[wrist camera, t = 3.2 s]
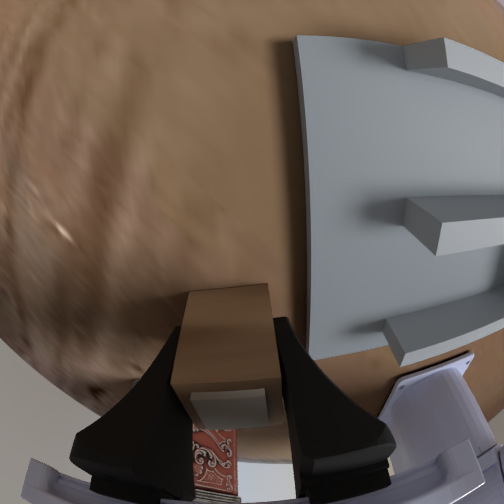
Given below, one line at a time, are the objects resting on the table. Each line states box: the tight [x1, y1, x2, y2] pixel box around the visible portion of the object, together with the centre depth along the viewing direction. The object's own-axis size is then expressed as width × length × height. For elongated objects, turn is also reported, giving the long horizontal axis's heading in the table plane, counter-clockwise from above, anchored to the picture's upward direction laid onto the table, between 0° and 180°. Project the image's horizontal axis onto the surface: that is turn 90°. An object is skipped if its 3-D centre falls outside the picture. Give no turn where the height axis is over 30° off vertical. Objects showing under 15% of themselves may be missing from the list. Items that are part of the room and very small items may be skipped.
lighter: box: [132, 379, 241, 503], centre depth 13 cm, size 8×3×10 cm, turn 55°
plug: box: [170, 284, 284, 430], centre depth 11 cm, size 4×4×5 cm
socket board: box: [293, 35, 504, 367], centre depth 9 cm, size 14×15×4 cm
